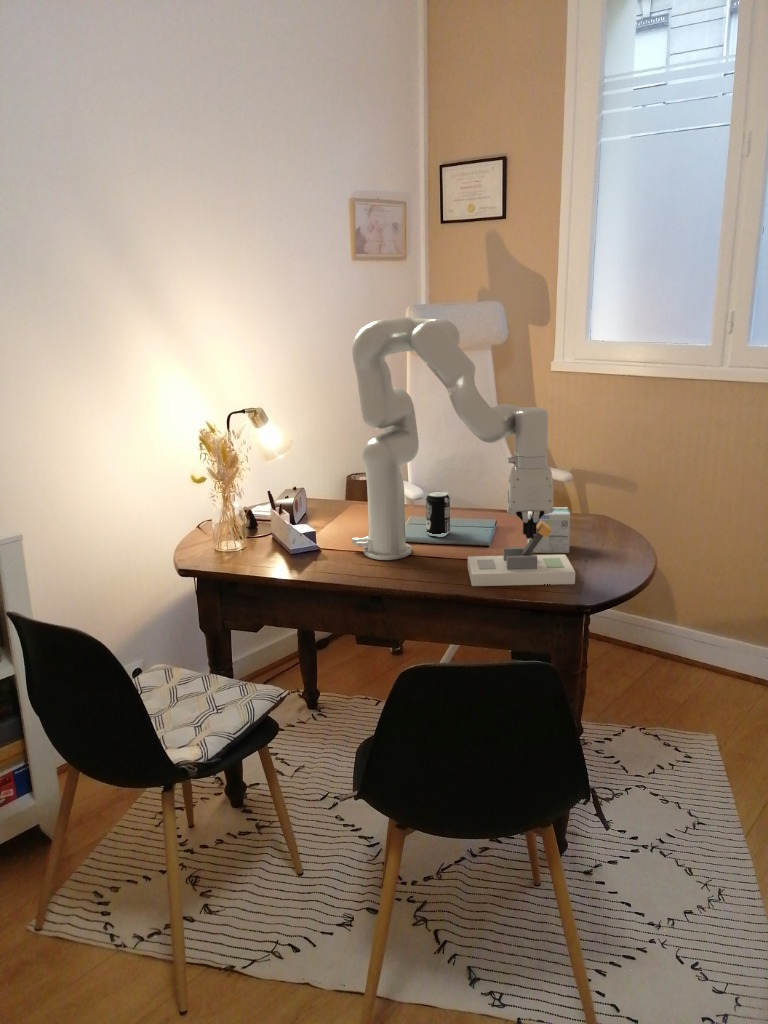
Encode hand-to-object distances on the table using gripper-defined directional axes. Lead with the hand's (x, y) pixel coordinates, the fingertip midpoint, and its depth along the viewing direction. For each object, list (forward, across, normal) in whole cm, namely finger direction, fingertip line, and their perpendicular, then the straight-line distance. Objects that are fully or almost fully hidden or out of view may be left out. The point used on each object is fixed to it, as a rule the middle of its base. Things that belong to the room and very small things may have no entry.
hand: (529, 536), depth 194 cm
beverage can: (+10, -20, +33) cm, 40 cm away
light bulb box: (+10, +8, +19) cm, 23 cm away
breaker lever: (+6, -2, 0) cm, 6 cm away
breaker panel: (+10, -2, 0) cm, 10 cm away
